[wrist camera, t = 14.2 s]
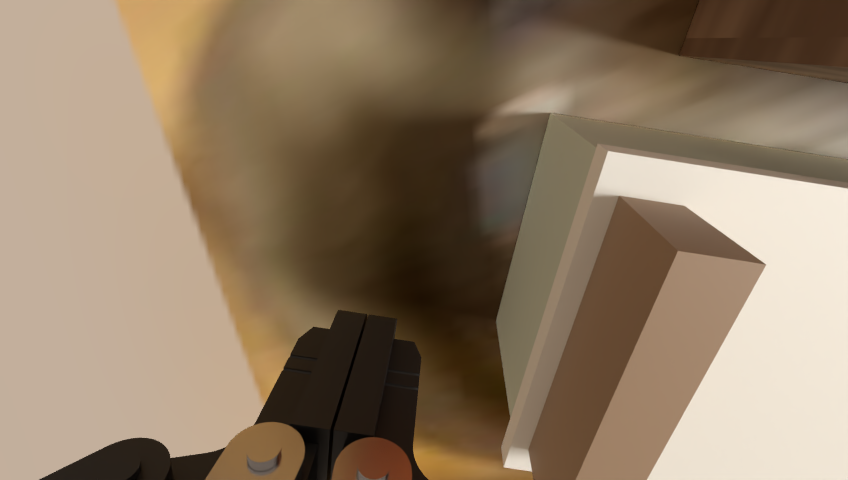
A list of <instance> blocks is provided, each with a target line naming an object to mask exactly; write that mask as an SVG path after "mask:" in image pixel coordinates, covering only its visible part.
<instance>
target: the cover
mask: <svg viewBox="0 0 848 480" xmlns="http://www.w3.org/2000/svg"><path fill="white" fill-rule="evenodd" d="M679 56H685V57H691V58H697V59H704V60H710V61H716V62H722V63H728V64H734V65H741V66H747V67H753V68H759V69H765V70H771V71H778V72H784V73H790V74H796V75H802V76H808V77H815V78H821V79H827V80H833V81H839V82H845V83H848V0H699V3H698V6H697V8H696V11H695V14H694V16H693V19H692V22H691V24H690V27H689V30H688V33H687V35H686V38H685V41H684V43H683V46H682V49H681V51H680V54H679Z"/></svg>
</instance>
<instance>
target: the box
mask: <svg viewBox="0 0 848 480" xmlns="http://www.w3.org/2000/svg"><path fill="white" fill-rule="evenodd" d="M597 144H604V145H610V146H617V147H623V148H629V149H636V150H642V151H649V152H655V153H661V154H668V155H674V156H681V157H687V158H693V159H700V160H706V161H713V162H719V163H725V164H732V165H738V166H744V167H751V168H757V169H764V170H770V171H776V172H783V173H789V174H796V175H802V176H808V177H815V178H821V179H827V180H834V181H840V182H847V183H848V160H847V159H841V158H835V157H828V156H822V155H815V154H809V153H803V152H796V151H790V150H784V149H777V148H771V147H764V146H758V145H752V144H745V143H739V142H732V141H726V140H720V139H713V138H707V137H701V136H694V135H688V134H681V133H675V132H669V131H662V130H656V129H650V128H643V127H637V126H630V125H624V124H618V123H611V122H605V121H598V120H592V119H586V118H579V117H573V116H567V115H560V114H554V113H550V116H549V120H548V124H547V127H546V131H545V135H544V139H543V143H542V146H541V150H540V154H539V158H538V162H537V166H536V169H535V173H534V177H533V181H532V185H531V189H530V192H529V196H528V200H527V204H526V208H525V211H524V215H523V219H522V223H521V227H520V231H519V234H518V238H517V242H516V246H515V250H514V254H513V257H512V261H511V265H510V269H509V273H508V277H507V280H506V284H505V288H504V292H503V296H502V299H501V303H500V307H499V311H498V315H497V319H496V325H497V332H498V338H499V345H500V352H501V358H502V365H503V372H504V378H505V385H506V392H507V398H508V405H509V412H510V418H511V415H512V412H513V409H514V405H515V402H516V399H517V396H518V393H519V390H520V387H521V383H522V380H523V377H524V374H525V371H526V368H527V364H528V361H529V358H530V355H531V352H532V349H533V346H534V342H535V339H536V336H537V333H538V330H539V327H540V323H541V320H542V317H543V314H544V311H545V308H546V305H547V301H548V298H549V295H550V292H551V289H552V286H553V283H554V279H555V276H556V273H557V270H558V267H559V264H560V260H561V257H562V254H563V251H564V248H565V245H566V242H567V238H568V235H569V232H570V229H571V226H572V223H573V219H574V216H575V213H576V210H577V207H578V204H579V201H580V197H581V194H582V191H583V188H584V185H585V182H586V178H587V175H588V172H589V169H590V166H591V163H592V160H593V156H594V153H595V150H596V147H597Z"/></svg>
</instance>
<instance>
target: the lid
mask: <svg viewBox="0 0 848 480" xmlns="http://www.w3.org/2000/svg"><path fill="white" fill-rule="evenodd" d="M501 449H502V457H503V466H504V467H505V468H512V469H518V470H525V471H531V472H532V474H533V479H534V480H848V183H847V182H840V181H834V180H827V179H821V178H815V177H808V176H802V175H796V174H789V173H783V172H776V171H770V170H764V169H757V168H751V167H744V166H738V165H732V164H725V163H719V162H713V161H706V160H700V159H693V158H687V157H681V156H674V155H668V154H661V153H655V152H649V151H642V150H636V149H629V148H623V147H617V146H610V145H604V144H597V147H596V150H595V153H594V156H593V160H592V163H591V166H590V169H589V172H588V175H587V178H586V182H585V185H584V188H583V191H582V194H581V197H580V201H579V204H578V207H577V210H576V213H575V216H574V219H573V223H572V226H571V229H570V232H569V235H568V238H567V242H566V245H565V248H564V251H563V254H562V257H561V260H560V264H559V267H558V270H557V273H556V276H555V279H554V283H553V286H552V289H551V292H550V295H549V298H548V301H547V305H546V308H545V311H544V314H543V317H542V320H541V323H540V327H539V330H538V333H537V336H536V339H535V342H534V346H533V349H532V352H531V355H530V358H529V361H528V364H527V368H526V371H525V374H524V377H523V380H522V383H521V387H520V390H519V393H518V396H517V399H516V402H515V405H514V409H513V412H512V415H511V418H510V421H509V424H508V427H507V431H506V434H505V437H504V440H503V443H502V446H501Z"/></svg>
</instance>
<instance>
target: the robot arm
mask: <svg viewBox="0 0 848 480" xmlns="http://www.w3.org/2000/svg"><path fill="white" fill-rule="evenodd" d="M396 324H397V319H395V318H389V317H382V316H375V315H369V316H368V319H367V314H362V313H355V312H349V311H342V310H338V312H337V314H336V316H335V318H334V321H333V323H332V325H331V328H330V329H325V328H318V327H313V328H311V329H310V330H309V331H308V332H306V333H305V334H304V335H303V336H301V337H300V338H299V339H298V341H297V343H296V345H295V347H294V349H293V351H292V352H291V355H290V357H289V358H288V360H287V362H286V364H285V366H284V370H283V371H282V372H281V374H280V376H279V378H278V380H277V382H276V384H275V386H274V388H273V390H272V391H271V393H270V395H269V397H268V399H267V401H266V403H265V405H264V407H263V409H262V411H261V413H260V415H259V417H258V419H257V421H256V422H255V424H254V425H253V426H251V427H249V428H247V429H245V430H243V431H241V432H240V433H239V434H238V435H236V436H235V437H234V438H233V439H232V440H231V441H230V442H229V444H228V445H227V446H226V447H225V448H223V449H220V450H217V451H214V452H209V453H203V454H196V455H189V456H183V457H176V458H170V454H169V452H168V449H167V448H166V447H165V446H164V445H163V444H162V443H160V442H158V441H156V440H154V439H149V438H133V439H127V440H122V441H120V442H116V443H114V444H111V445H109V446H107V447H105V448H103V449H101V450H99V451H96V452H95V453H92V454H91V455H88V456H86V457H84V458H82V459H80V460H79V461H76V462H74V463H72V464H70V465H68V466H66V467H64V468H62V469H60V470H58V471H56V472H54V473H52V474H50V475H48V476H46V477H44V478H42V479H40V480H428V479H427V478H426V477H425V476H424V475H423V473H422V472H421V471H420V469H419V468H418V466H417V464H416V461H415V458H414V454H413V438H414V427H415V417H416V407H417V396H418V386H419V375H420V365H421V356H420V354H419V351H418V349H417V347H416V345H415V343H414V342H411V341H404V340H398V339H394V338H395V331H396Z"/></svg>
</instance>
